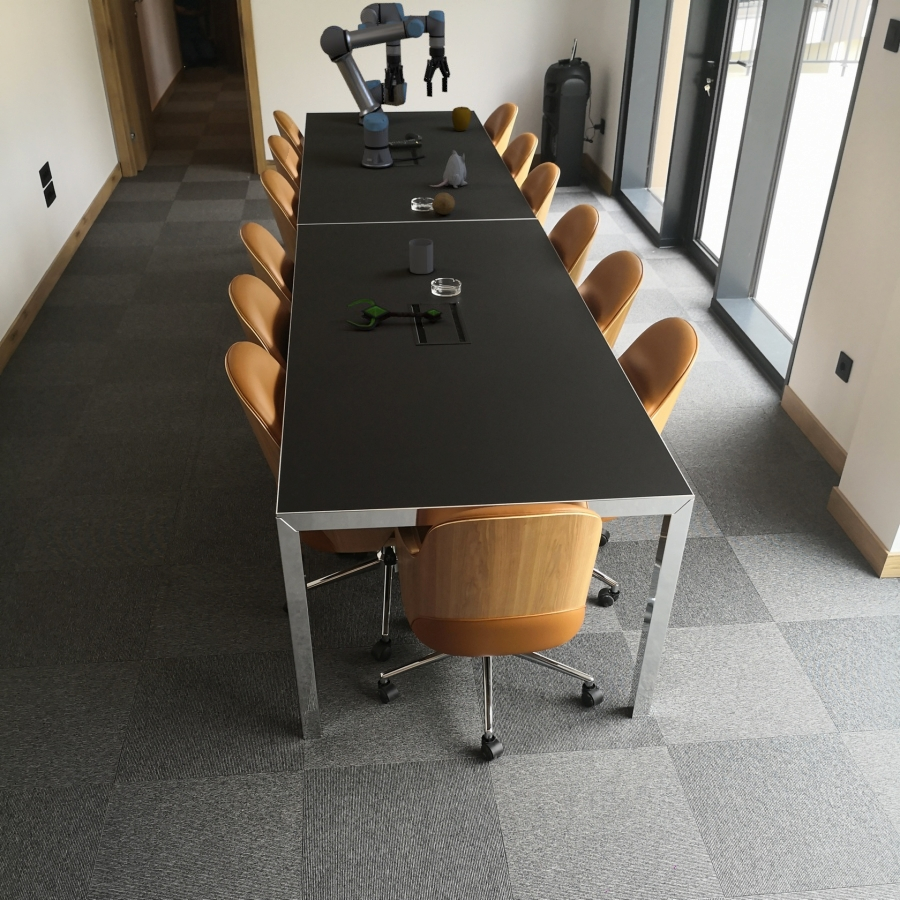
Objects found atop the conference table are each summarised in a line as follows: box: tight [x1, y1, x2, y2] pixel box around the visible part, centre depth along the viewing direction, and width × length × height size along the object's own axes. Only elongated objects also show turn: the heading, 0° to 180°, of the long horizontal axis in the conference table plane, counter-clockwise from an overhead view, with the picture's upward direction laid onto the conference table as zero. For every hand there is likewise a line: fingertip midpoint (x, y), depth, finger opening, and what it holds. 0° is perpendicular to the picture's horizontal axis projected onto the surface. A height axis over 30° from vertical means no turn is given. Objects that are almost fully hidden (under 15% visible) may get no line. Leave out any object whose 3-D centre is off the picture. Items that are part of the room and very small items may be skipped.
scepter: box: [345, 298, 443, 331], centre depth 269 cm, size 6×13×30 cm
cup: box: [408, 237, 434, 275], centre depth 305 cm, size 8×8×10 cm
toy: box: [428, 149, 468, 189], centre depth 390 cm, size 9×24×15 cm, turn 137°
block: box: [385, 82, 405, 107], centre depth 467 cm, size 7×7×11 cm
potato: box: [431, 192, 456, 216], centre depth 360 cm, size 10×14×8 cm
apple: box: [451, 105, 472, 132], centre depth 487 cm, size 11×11×13 cm
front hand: (437, 94), depth 424 cm, fingers open, 13 cm apart
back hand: (394, 100), depth 469 cm, fingers closed on block, 7 cm apart
